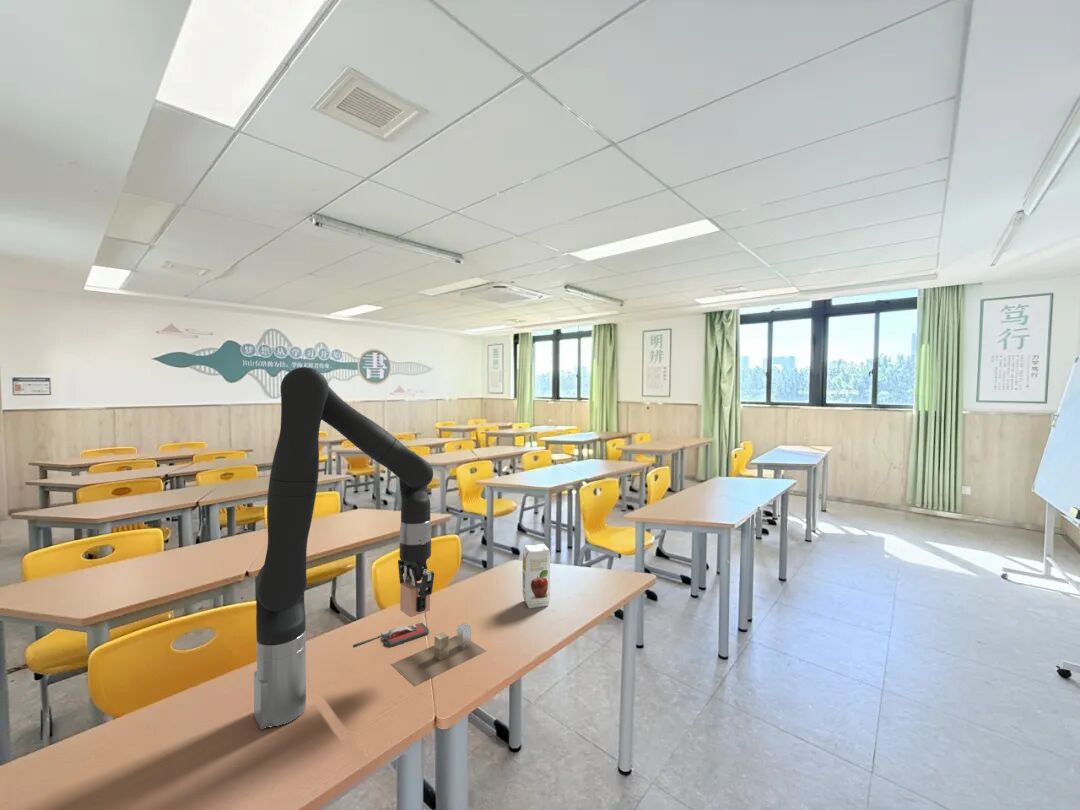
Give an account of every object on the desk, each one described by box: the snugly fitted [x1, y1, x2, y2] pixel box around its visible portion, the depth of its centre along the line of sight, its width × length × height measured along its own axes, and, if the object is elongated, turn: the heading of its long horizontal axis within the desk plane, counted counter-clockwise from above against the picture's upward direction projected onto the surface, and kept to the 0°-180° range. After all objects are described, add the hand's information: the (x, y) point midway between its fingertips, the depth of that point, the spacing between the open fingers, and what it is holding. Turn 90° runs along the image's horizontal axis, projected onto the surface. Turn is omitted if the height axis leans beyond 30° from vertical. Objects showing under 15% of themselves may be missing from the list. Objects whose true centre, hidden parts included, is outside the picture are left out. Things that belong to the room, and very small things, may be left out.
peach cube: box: [399, 580, 431, 618], centre depth 110 cm, size 5×5×7 cm
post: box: [456, 622, 472, 650], centre depth 121 cm, size 3×3×6 cm
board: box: [390, 631, 487, 687], centre depth 116 cm, size 21×12×7 cm, turn 134°
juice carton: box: [521, 543, 551, 609], centre depth 150 cm, size 8×9×19 cm
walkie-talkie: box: [352, 622, 430, 649], centre depth 125 cm, size 9×4×20 cm
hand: (415, 606), depth 110 cm, fingers closed on peach cube, 5 cm apart
